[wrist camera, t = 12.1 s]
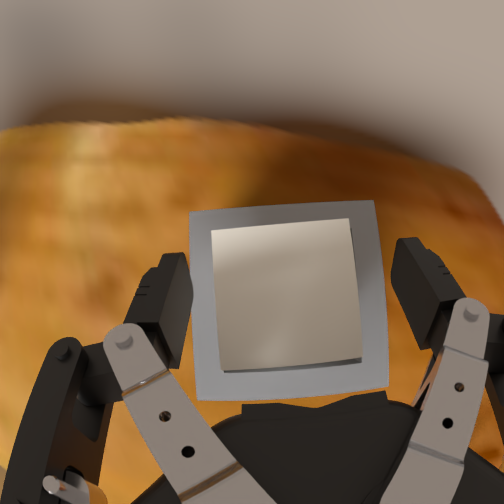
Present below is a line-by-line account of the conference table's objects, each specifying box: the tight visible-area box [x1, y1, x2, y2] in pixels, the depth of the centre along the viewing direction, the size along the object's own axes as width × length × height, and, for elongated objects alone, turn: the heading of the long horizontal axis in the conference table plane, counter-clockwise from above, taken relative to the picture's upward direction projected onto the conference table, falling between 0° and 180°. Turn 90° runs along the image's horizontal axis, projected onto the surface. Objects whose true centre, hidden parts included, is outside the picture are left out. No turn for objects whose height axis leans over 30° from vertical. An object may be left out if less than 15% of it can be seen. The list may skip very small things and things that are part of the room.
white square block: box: [211, 218, 363, 371], centre depth 17 cm, size 4×4×14 cm
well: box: [189, 200, 389, 401], centre depth 20 cm, size 14×14×9 cm
